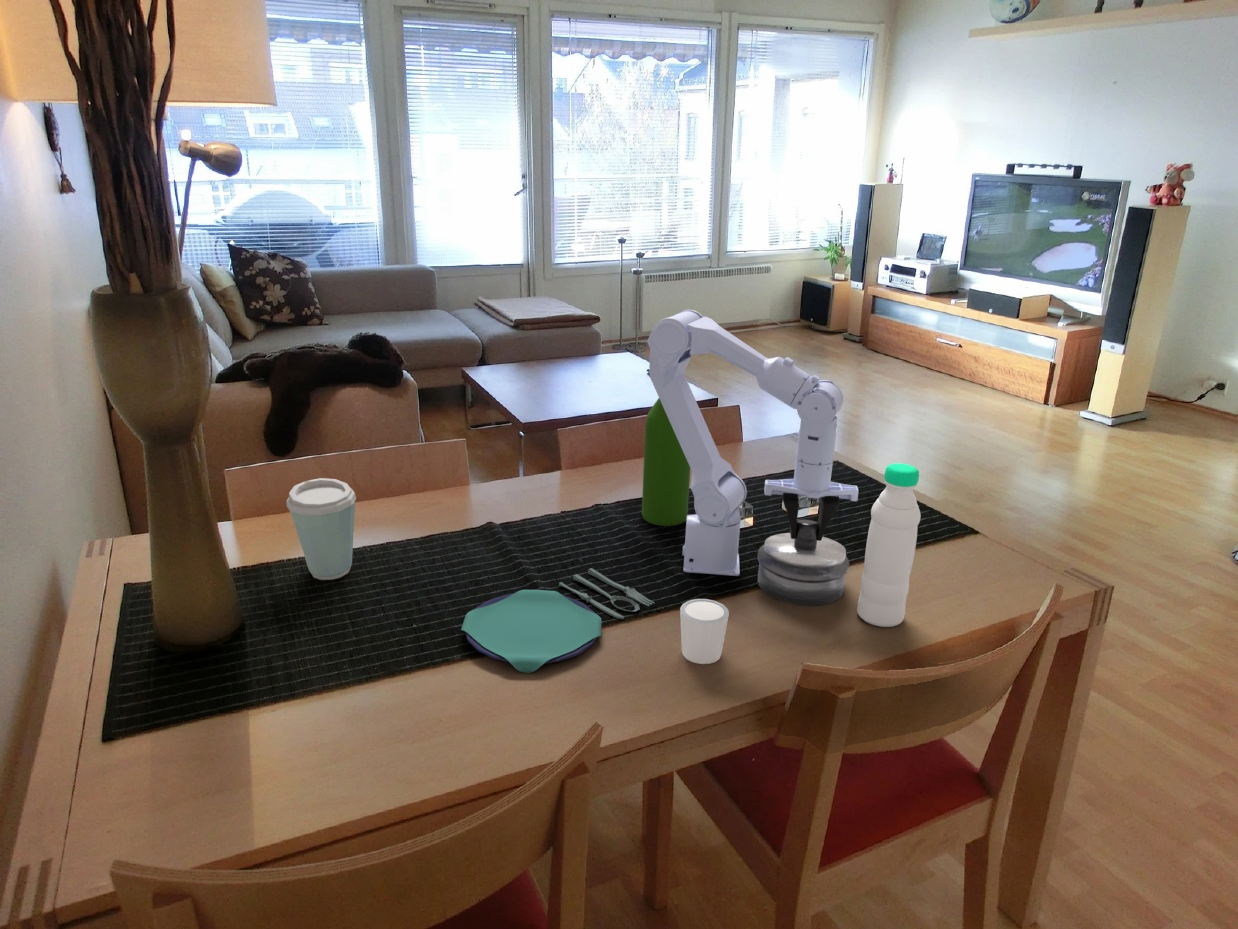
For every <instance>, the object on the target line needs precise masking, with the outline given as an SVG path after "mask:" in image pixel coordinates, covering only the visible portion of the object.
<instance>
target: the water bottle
mask: <svg viewBox="0 0 1238 929" xmlns="http://www.w3.org/2000/svg"><path fill="white" fill-rule="evenodd" d="M883 477H884V479H883V480H884V484H886V485H885V486H886V487H885V488H884V489H883V491H881V493H880V495H878V496H879V497H878V498H877V499H876V501H875V502H873V504H872V507H871V509H870V515H871V516H870V517H871V520H870V523H869V528H868V534H867V539H866V545H865V546H866V547H865V553H864V562H863V563H864V566H863V569H864V570H863V573H862V576H861V580H860V594H859V597H858V601H857V609H856V610H857V614H858V616H859V617H860V619H862V620H863V621H864V622H865V623H867V624H870V625H872V626H876V627H881V628H891V627H895V626H898V625H901V623H902V622H904V618H905V613H906V605H907V604H906V603H907V602H906V600H907V598H908V595H909V589H910V577H911V572H912V568H913V565H914V564H913V563H914V558H915V553H916V548H917V547H916V546H917V538H918V526H919V524H920V522H921V517H922V516H921V510H920V508H919V505H918V502H917V498H916V495H915V493H914V489H915V488H917V484H918V482H919V479H920V471H919V470H918V468H916V467H915V466H913V465H911V464H907V463H898V462H897V463H896V462H895V463H890V464H889V465H887V466H886V467H885V471H884V476H883Z"/></svg>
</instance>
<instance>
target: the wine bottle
mask: <svg viewBox="0 0 1238 929" xmlns="http://www.w3.org/2000/svg"><path fill="white" fill-rule="evenodd" d="M643 447H644V450H643V473H642V497H641V498H642V499H641V500H642V502H641V515H642V519H643V520H644V521H646V522H647V523H649V524H652V525H656V526H663V527H671V526H672V527H674V526H678V525H682V524H683V523H685V522H686V521H687V515H689V497H690V495H689V494H690V481H691V480H690V479H691V477H690V476H691V468H690V466H689V463H688V461H687V459H686V457H685V455H684V452H683V450H682V448H681V446H680V443H679V441H678V439H677V437H676V434H675V432H674V430H673V428H672V425H671V423H670V421H669V419H668V416H667V414H666V412H665V410H664V408H663V405H662V403H661V401H660V399H659V397H658V398H657V399H656V401H655V403H654V404H653V405H652V406H651V408H650V409H649V411H648V412H647V414H646V419H645V422H644V446H643Z"/></svg>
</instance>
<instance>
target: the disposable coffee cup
mask: <svg viewBox="0 0 1238 929" xmlns="http://www.w3.org/2000/svg"><path fill="white" fill-rule="evenodd" d="M285 500H286V507H287V509H288V511H289V512H290V514H291V517H292V518H291V519H292V521H293V524H294V527H295V530H296V533H297V538H298V540H299V543H300V545H301V549H302V553H303V556H304V559H305V562H306V565H307V568H308V571H309V572H310V574H311V575H312V578H314V579H318V580H320V581H327V580H329V581H331V580H336V579H340V578H342V577H344V576H345V575H347V574H349V572H350V570H351V567H352V565H353V549H354V548H353V547H354V531H355V530H354V529H355V528H354V527H355V510H356V508H355V507H356V500H357V496H356V492H355V491H354V490H353V488H351V487H350V485H349V484H348V483H347V482H344V481H341V480H338V479H336V478H324V477H322V478H321V477H320V478H315V479H310V480H305V481H302V482H300V483H298V484H295V485H294V486H293V487H292V488H291V490H290V491H289V492H288V497H287V499H285Z"/></svg>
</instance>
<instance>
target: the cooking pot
mask: <svg viewBox="0 0 1238 929" xmlns="http://www.w3.org/2000/svg"><path fill="white" fill-rule="evenodd" d="M764 546H765V543H764V544H763V545H761V546H760V547H759V548H758V551H757V561H758V563H759V565H758V572H757V574H758V575H757V584H758V583H759V584H758V586H759V588H760V589H761V590H762V591H763V592H764V593H765V594H767V596H770V597H771V598H773V599H775V600H778V601H781V602H784V603H787V604H790V605H796V606H805V607H806V606H809V607H814V606H815V607H817V606H825V605H828V604H831V603H834V602H836V601H838V600H839V599H840V598H841V597H842V595H843V593H844V587H845V580H846V574H847V573H848V572H849V568H850V560H849V558H848V557H847V556H846V557H845V561H844V562H843V563H842V564H840V565H838V566H835V567H830V568H819V569H815V568H802V567H796V566H791V565H787V564H784V563H781V562H778V561H776V560H774V559H772V558H770V557H769V556H768V555H767V554H766V553H765V551H764Z"/></svg>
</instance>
